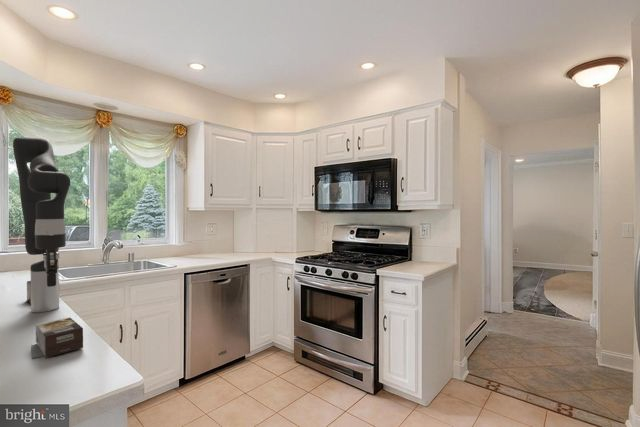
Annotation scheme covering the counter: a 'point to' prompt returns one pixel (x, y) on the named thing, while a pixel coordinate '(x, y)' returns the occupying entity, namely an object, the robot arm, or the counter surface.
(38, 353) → the mat
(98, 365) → the counter surface
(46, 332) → the coffee box
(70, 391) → the counter surface
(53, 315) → the counter surface
